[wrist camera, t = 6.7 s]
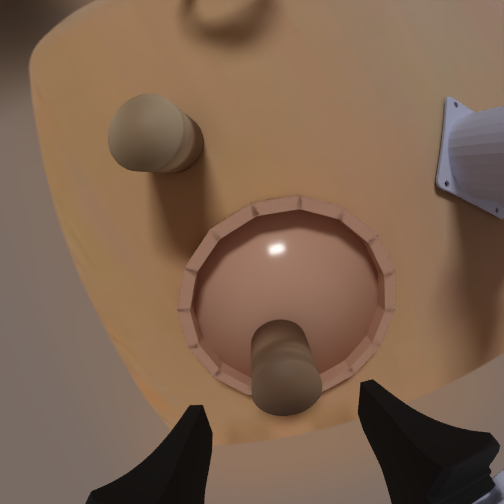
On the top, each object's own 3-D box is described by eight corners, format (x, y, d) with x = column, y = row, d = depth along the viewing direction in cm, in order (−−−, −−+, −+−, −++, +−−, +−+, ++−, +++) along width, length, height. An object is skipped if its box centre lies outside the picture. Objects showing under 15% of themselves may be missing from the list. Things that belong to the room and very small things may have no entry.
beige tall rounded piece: (205, 114, 17) (184, 90, 12) (201, 172, 18) (178, 170, 13) (148, 116, 17) (111, 98, 12) (145, 173, 18) (106, 172, 13)
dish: (405, 226, 19) (419, 230, 17) (345, 390, 22) (351, 404, 20) (207, 174, 18) (202, 173, 16) (174, 364, 21) (169, 378, 19)
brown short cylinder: (301, 313, 20) (318, 356, 14) (309, 359, 20) (325, 407, 15) (245, 325, 20) (244, 371, 14) (257, 370, 21) (259, 420, 15)
